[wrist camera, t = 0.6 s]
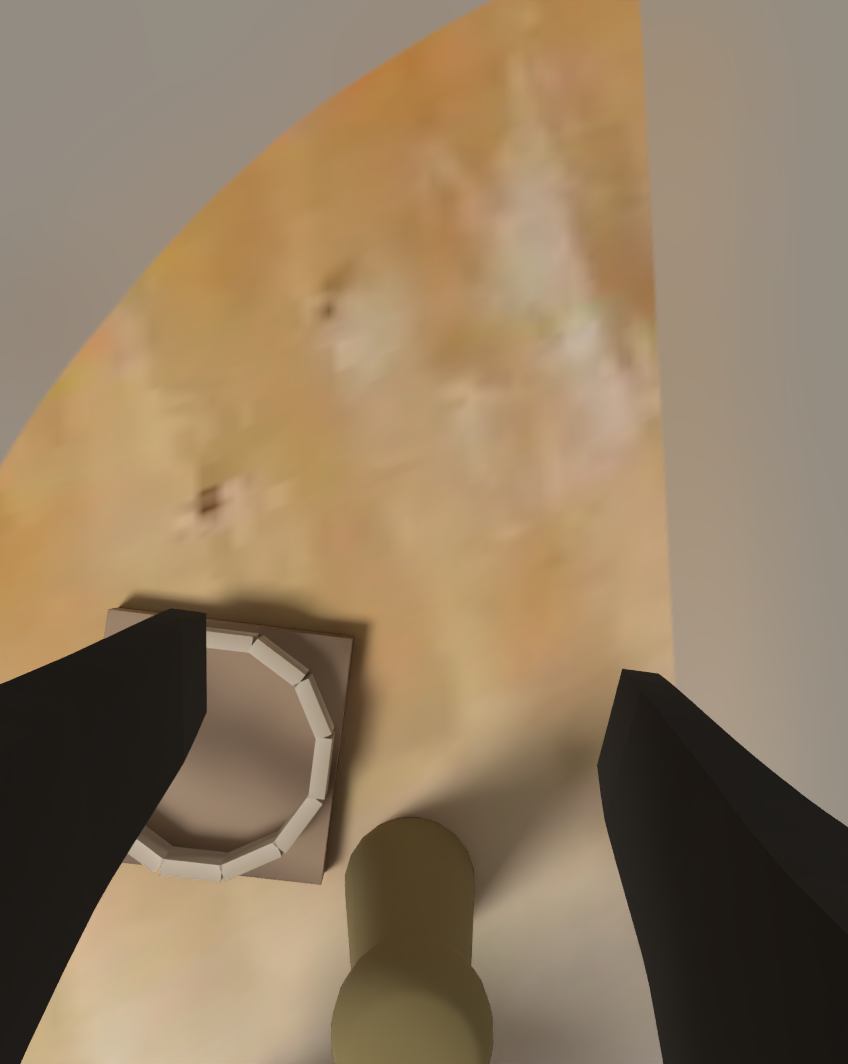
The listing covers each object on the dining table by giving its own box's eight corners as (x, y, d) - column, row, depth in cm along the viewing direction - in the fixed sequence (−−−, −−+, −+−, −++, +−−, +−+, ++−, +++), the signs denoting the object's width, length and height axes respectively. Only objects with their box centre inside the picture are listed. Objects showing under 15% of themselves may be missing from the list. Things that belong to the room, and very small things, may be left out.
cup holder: (323, 873, 30) (317, 898, 28) (84, 847, 30) (58, 870, 28) (354, 636, 31) (350, 642, 28) (118, 607, 30) (95, 611, 28)
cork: (482, 825, 31) (526, 979, 20) (465, 956, 30) (500, 1186, 19) (353, 809, 30) (325, 956, 19) (335, 941, 30) (297, 1164, 19)
